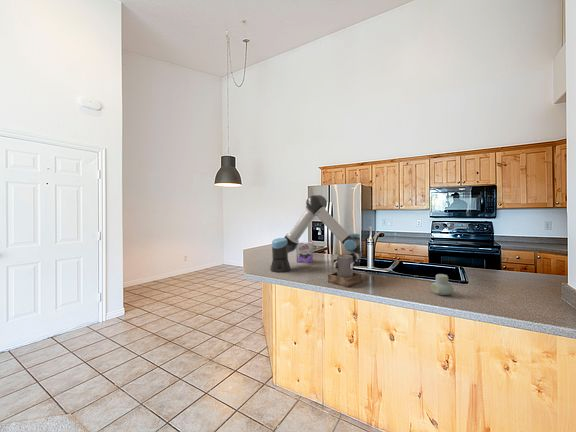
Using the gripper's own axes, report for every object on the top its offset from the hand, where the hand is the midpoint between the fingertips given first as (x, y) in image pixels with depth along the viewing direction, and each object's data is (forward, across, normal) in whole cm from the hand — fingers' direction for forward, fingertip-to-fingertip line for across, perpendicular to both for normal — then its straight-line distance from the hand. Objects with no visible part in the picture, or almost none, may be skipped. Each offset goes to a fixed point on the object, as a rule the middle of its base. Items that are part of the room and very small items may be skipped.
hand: (342, 265), depth 167 cm
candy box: (-48, +47, -12) cm, 68 cm away
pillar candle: (-4, 0, -9) cm, 10 cm away
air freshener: (-4, -53, -12) cm, 55 cm away
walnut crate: (-4, 0, -12) cm, 12 cm away
